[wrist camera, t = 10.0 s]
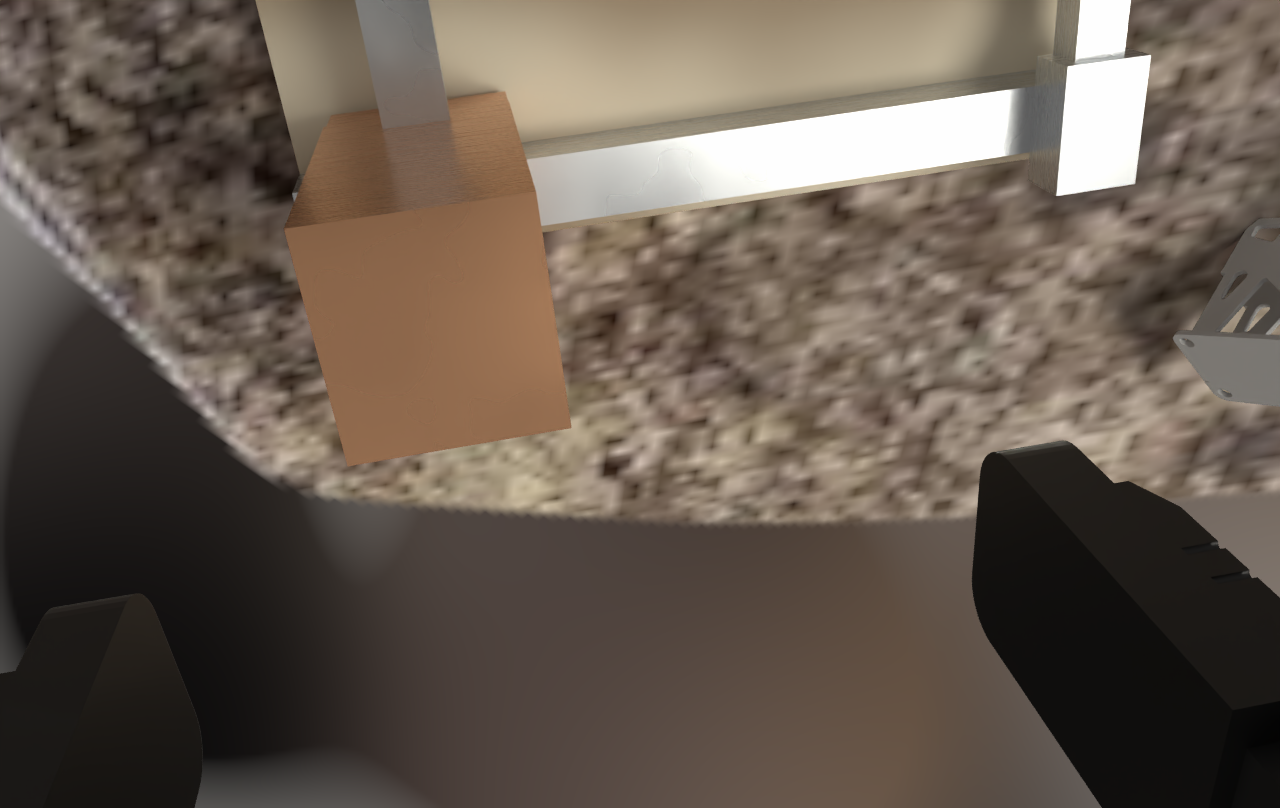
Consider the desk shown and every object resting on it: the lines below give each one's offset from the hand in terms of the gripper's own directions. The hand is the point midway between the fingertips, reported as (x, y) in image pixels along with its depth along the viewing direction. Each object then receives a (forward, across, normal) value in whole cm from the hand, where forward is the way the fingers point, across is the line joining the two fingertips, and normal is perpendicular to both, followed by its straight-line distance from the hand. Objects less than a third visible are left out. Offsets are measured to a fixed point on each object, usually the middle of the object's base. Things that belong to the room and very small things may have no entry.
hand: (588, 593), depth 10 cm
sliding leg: (+17, +2, -1) cm, 17 cm away
